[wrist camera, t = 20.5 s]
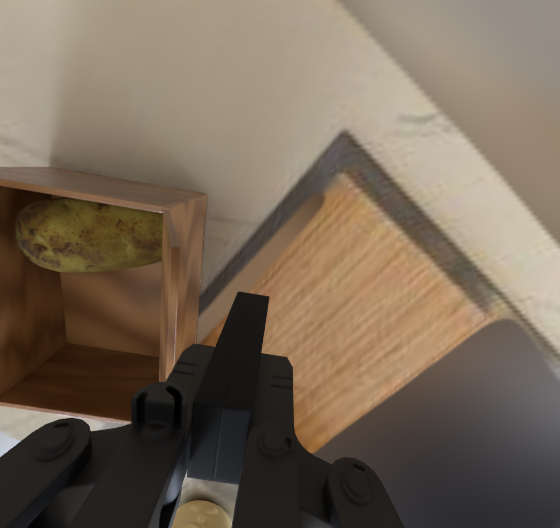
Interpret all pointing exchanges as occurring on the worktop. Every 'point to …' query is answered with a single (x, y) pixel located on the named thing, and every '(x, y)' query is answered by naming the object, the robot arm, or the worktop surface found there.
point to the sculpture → (201, 516)
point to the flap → (168, 296)
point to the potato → (88, 235)
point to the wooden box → (89, 303)
